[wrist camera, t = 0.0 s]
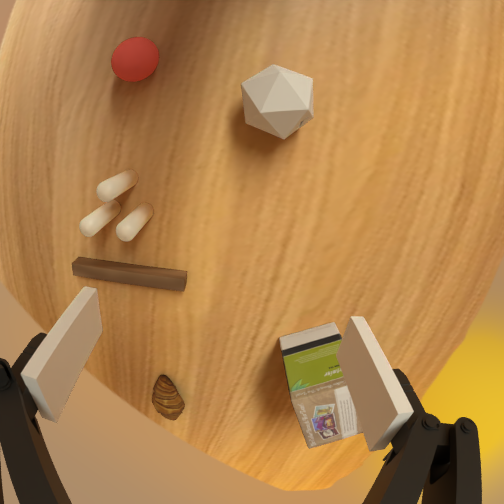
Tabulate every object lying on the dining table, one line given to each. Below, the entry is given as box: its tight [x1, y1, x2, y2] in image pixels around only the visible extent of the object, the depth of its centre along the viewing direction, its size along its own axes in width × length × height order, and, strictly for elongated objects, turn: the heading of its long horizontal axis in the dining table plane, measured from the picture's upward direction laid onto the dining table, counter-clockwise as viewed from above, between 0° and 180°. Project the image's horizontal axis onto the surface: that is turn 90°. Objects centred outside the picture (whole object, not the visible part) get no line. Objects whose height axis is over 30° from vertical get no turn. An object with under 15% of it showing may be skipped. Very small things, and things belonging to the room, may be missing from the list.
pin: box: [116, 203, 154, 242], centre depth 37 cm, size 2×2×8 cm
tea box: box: [279, 322, 363, 449], centre depth 46 cm, size 15×10×15 cm, turn 16°
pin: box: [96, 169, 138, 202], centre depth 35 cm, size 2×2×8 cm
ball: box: [111, 37, 159, 82], centre depth 30 cm, size 6×6×6 cm
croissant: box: [152, 375, 185, 420], centre depth 54 cm, size 14×7×5 cm, turn 179°
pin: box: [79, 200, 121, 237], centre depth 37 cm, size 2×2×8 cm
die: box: [241, 64, 313, 139], centre depth 32 cm, size 8×9×10 cm
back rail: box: [72, 257, 187, 291], centre depth 43 cm, size 2×18×2 cm, turn 82°
